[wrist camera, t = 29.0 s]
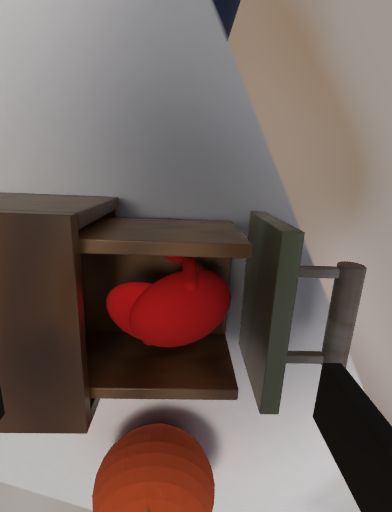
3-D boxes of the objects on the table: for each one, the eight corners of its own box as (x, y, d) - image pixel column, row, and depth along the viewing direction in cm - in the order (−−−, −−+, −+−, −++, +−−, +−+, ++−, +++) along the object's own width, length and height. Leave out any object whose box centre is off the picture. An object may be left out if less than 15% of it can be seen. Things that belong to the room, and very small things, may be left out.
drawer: (326, 214, 23) (395, 235, 16) (305, 344, 26) (353, 415, 19) (74, 204, 22) (16, 222, 15) (83, 340, 26) (40, 412, 18)
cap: (223, 242, 22) (236, 266, 17) (227, 313, 24) (240, 359, 18) (117, 251, 22) (93, 279, 17) (128, 322, 24) (110, 370, 18)
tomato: (226, 457, 31) (244, 586, 21) (139, 491, 32) (118, 630, 22) (182, 383, 28) (181, 492, 19) (89, 423, 29) (41, 547, 20)
